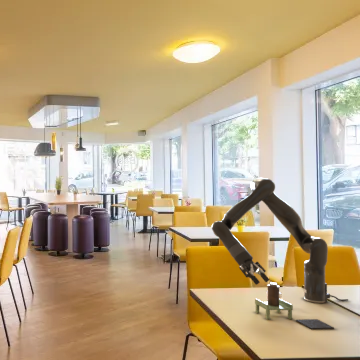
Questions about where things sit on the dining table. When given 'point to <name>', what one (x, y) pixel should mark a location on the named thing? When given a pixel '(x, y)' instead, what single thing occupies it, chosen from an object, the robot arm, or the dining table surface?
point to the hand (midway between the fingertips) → (263, 282)
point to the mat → (315, 324)
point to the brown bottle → (273, 294)
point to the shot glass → (279, 295)
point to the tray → (282, 306)
